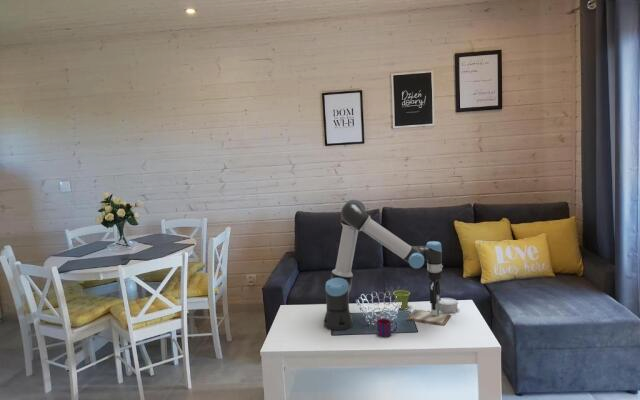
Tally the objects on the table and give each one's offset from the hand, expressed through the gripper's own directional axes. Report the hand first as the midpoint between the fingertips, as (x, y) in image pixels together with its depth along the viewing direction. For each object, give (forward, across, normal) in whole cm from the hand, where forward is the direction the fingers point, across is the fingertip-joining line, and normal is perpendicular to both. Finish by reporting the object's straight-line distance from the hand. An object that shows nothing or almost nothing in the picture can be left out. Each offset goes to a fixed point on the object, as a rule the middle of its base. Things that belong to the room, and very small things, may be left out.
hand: (435, 313), depth 236 cm
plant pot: (+2, +6, +21) cm, 22 cm away
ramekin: (+2, +12, -3) cm, 12 cm away
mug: (+2, -32, +15) cm, 35 cm away
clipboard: (+1, -3, +3) cm, 5 cm away
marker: (0, 0, 0) cm, 0 cm away
